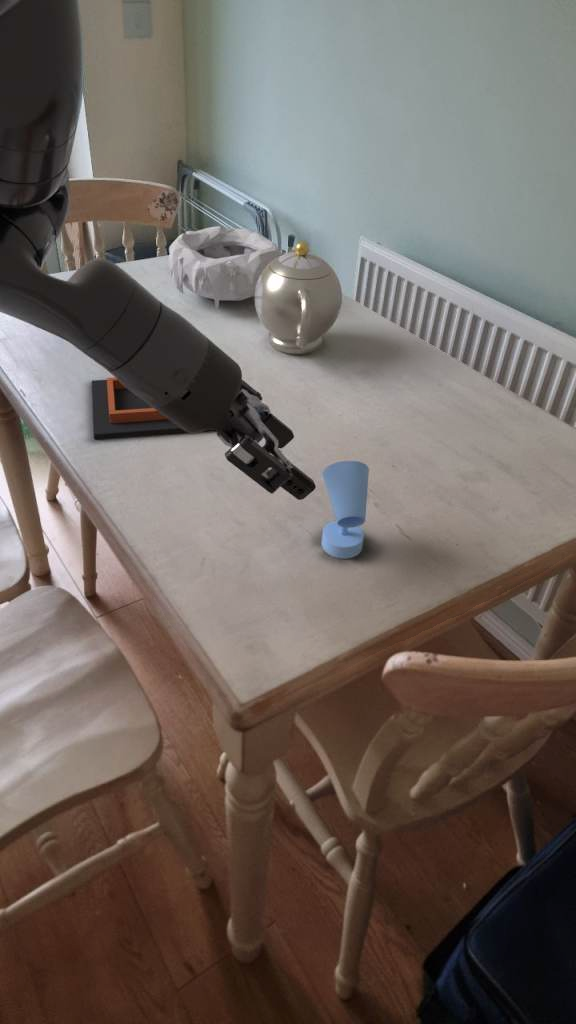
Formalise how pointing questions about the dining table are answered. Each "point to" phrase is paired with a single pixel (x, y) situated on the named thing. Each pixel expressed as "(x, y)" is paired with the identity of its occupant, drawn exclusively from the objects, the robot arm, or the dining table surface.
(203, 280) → the bowl
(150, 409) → the pad
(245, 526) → the dining table surface
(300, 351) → the teapot
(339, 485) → the spotlight
